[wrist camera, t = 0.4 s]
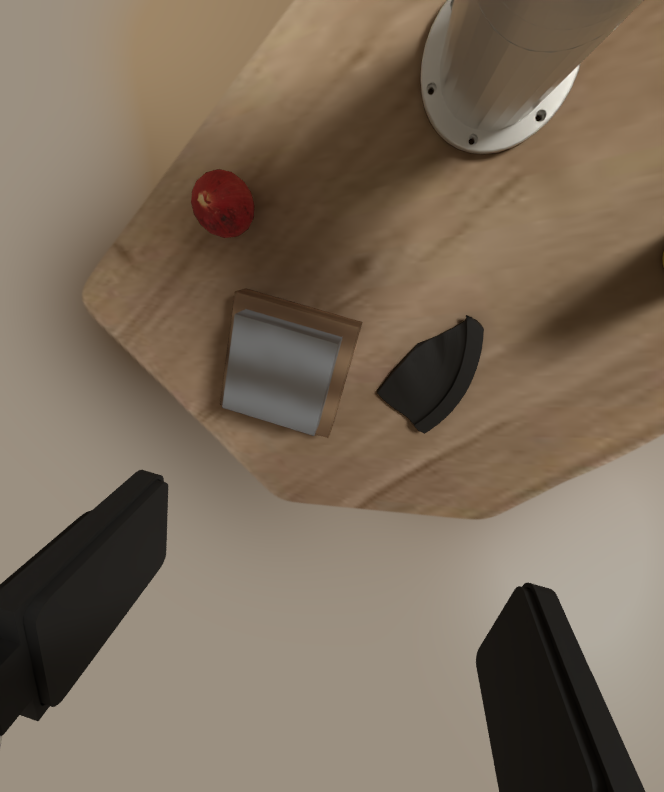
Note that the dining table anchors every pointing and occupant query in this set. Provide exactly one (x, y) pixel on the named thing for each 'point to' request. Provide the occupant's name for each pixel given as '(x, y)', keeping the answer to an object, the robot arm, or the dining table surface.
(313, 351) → the wood and metal stack
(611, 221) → the dining table surface
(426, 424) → the curved wedge
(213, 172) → the onion
